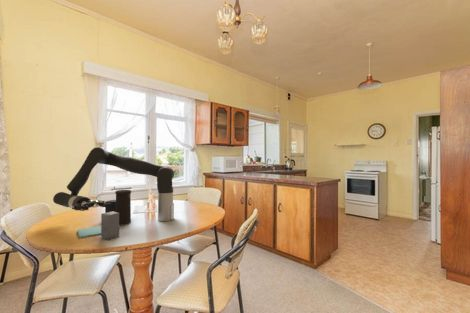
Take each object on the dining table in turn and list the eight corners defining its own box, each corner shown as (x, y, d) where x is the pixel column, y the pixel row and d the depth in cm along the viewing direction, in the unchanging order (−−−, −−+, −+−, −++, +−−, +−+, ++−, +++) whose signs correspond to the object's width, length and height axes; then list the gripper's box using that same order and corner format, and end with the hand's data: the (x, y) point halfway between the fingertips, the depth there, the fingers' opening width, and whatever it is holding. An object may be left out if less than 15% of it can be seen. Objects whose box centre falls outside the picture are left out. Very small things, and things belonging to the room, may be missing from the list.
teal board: (105, 226, 129) (105, 225, 129) (109, 232, 119) (109, 231, 119) (77, 231, 121) (77, 229, 121) (79, 238, 111) (79, 236, 111)
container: (134, 221, 139) (134, 189, 139) (122, 226, 130) (122, 191, 130) (123, 220, 142) (123, 188, 142) (111, 224, 133) (111, 190, 133)
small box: (130, 218, 147) (130, 199, 147) (124, 221, 140) (124, 202, 140) (111, 217, 148) (111, 199, 148) (104, 220, 141) (104, 201, 141)
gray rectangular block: (112, 234, 116) (112, 211, 116) (119, 236, 113) (119, 212, 113) (101, 238, 111) (101, 213, 111) (108, 240, 108) (108, 215, 108)
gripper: (65, 198, 119) (82, 201, 111) (93, 194, 131) (110, 197, 124) (64, 212, 119) (81, 216, 111) (92, 207, 131) (109, 211, 124)
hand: (96, 206), depth 117 cm, fingers open, 8 cm apart
